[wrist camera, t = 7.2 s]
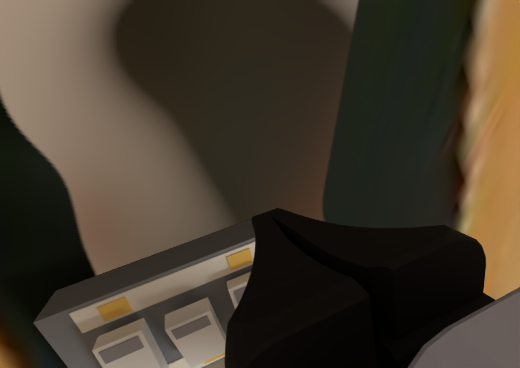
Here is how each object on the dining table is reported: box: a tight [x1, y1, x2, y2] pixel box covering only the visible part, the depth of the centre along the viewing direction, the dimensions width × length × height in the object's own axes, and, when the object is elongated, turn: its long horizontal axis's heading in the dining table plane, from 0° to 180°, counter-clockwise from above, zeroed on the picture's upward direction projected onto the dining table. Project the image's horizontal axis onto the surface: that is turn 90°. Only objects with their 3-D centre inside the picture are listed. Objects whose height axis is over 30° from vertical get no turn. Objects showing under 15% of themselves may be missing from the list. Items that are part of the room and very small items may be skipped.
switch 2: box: [165, 297, 226, 368], centre depth 18 cm, size 5×3×1 cm, turn 14°
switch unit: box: [33, 219, 255, 368], centre depth 20 cm, size 10×18×3 cm, turn 104°
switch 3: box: [227, 272, 251, 309], centre depth 19 cm, size 5×3×1 cm, turn 14°
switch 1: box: [92, 318, 169, 368], centre depth 17 cm, size 5×3×1 cm, turn 14°
